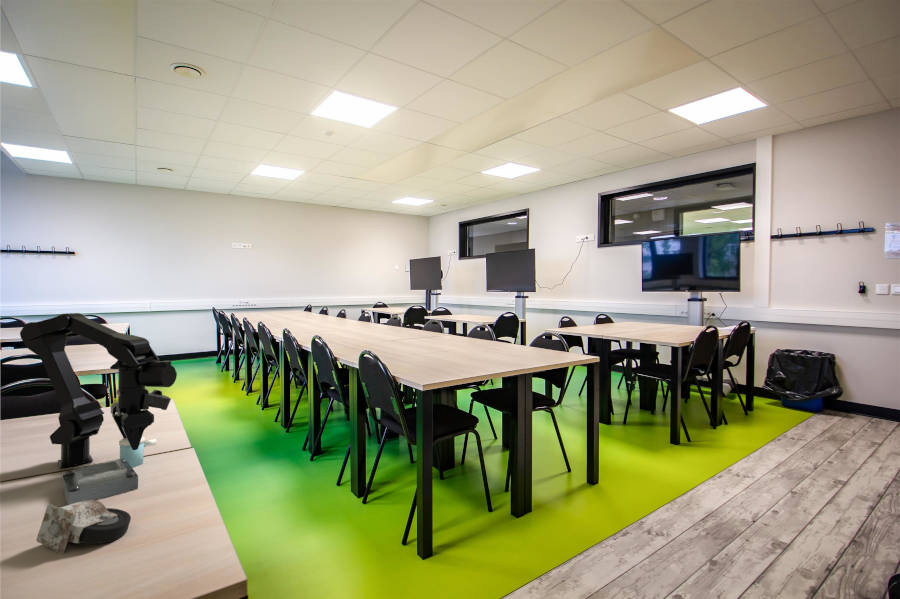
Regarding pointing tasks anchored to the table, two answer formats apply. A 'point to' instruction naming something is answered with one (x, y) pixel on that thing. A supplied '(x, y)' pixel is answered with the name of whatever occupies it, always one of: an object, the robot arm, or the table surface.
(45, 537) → the caster wheel
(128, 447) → the pump canister
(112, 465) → the grey metal socket plate
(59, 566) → the table surface
